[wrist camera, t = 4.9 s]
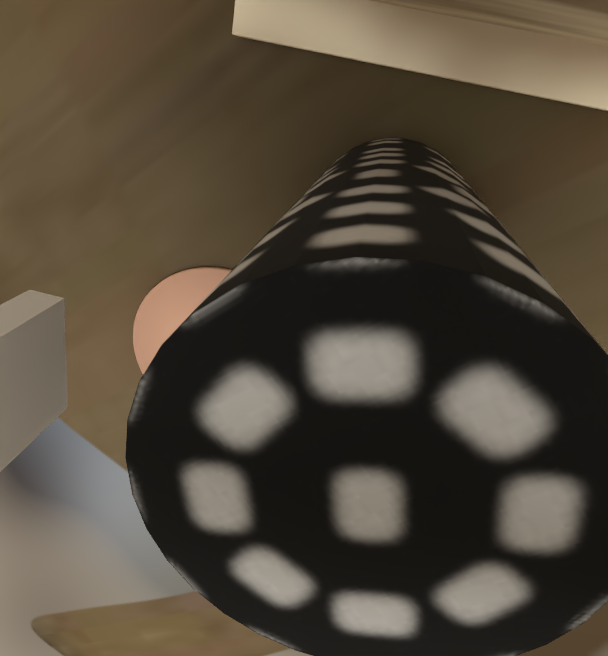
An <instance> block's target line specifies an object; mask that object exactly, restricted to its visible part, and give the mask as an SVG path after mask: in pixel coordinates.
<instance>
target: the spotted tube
mask: <svg viewBox="0 0 608 656" xmlns="http://www.w3.org/2000/svg"><path fill="white" fill-rule="evenodd" d="M126 462H127V468H128V473H129V478H130V484H131V489H132V495H133V497H134V499H135V502H136V504H137V507H138V509H139V511H140V514H141V516H142V519H143V521H144V524H145V526H146V528H147V530H148V531H149V533H150V535H151V536H152V538H153V539H154V541H155V542H156V544H157V545H158V547H159V548H160V550H161V551H162V553H163V554H164V556H165V558H166V559H167V561H168V562H169V563H170V564H171V565H172V566H173V567H174V568H175V569H176V570H177V571H178V573H179V574H180V575H182V576H183V578H184V579H185V580H186V581H187V582H188V583H189V584H190V586H191V587H192V588H193V589H194V590H196V591H197V592H198V593H199V594H201V595H202V596H203V597H204V598H206V599H207V600H208V601H209V602H211V603H212V604H213V605H214V606H216V607H217V608H218V609H219V610H221V611H222V612H223V613H224V614H226V615H228V616H229V617H231V618H233V619H234V620H236V621H238V622H239V623H241V624H243V625H244V626H246V627H248V628H249V629H251V630H253V631H254V632H256V633H258V634H260V635H262V636H264V637H266V638H269V639H271V640H273V641H276V642H278V643H280V644H282V645H285V646H287V647H289V648H292V649H294V650H296V651H300V652H303V653H306V654H309V655H313V656H517V655H520V654H522V653H525V652H527V651H530V650H533V649H536V648H538V647H541V646H544V645H546V644H548V643H550V642H552V641H553V640H555V639H557V638H559V637H560V636H562V635H564V634H565V633H567V632H569V631H571V630H572V629H574V628H576V627H578V626H579V625H581V624H583V623H584V622H585V621H586V620H588V619H589V618H590V617H591V616H592V615H593V614H595V613H596V612H597V611H598V610H599V609H600V608H602V607H603V606H604V605H605V604H606V603H607V602H608V355H607V354H606V352H605V351H604V350H603V349H602V348H601V346H600V345H599V344H598V343H597V341H596V340H595V339H594V338H593V336H592V335H591V334H590V333H589V332H588V330H587V329H586V328H585V327H584V325H583V324H582V323H581V322H580V321H579V319H578V318H577V317H576V316H575V314H574V313H573V312H572V311H571V309H570V308H569V307H568V306H567V305H566V303H565V302H564V301H563V300H562V298H561V297H560V296H559V295H558V294H557V292H556V291H555V290H554V289H553V287H552V286H551V285H550V284H549V282H548V281H547V280H546V279H545V278H544V276H543V275H542V274H541V273H540V271H539V270H538V269H537V268H536V267H535V265H534V264H533V263H532V262H531V260H530V259H529V258H528V257H527V255H526V254H525V253H524V252H523V251H522V249H521V248H520V247H519V246H518V244H517V243H516V242H515V241H514V240H513V238H512V237H511V236H510V235H509V233H508V232H507V231H506V230H505V228H504V227H503V226H502V225H501V224H500V222H499V221H498V220H497V219H496V217H495V216H494V215H493V214H492V213H491V211H490V210H489V209H488V208H487V206H486V205H485V204H484V203H483V201H482V200H481V199H480V198H479V197H478V195H477V194H476V193H475V192H474V190H473V189H472V188H471V187H470V186H469V184H468V183H467V182H466V181H465V179H464V178H463V177H462V176H461V174H460V173H459V172H458V171H457V170H456V168H455V167H454V166H453V165H452V164H451V163H450V161H449V160H448V159H447V158H445V157H444V156H443V155H441V154H440V153H439V152H437V151H436V150H435V149H433V148H430V147H428V146H426V145H424V144H422V143H420V142H416V141H411V140H407V139H395V138H385V139H380V140H375V141H369V142H367V143H364V144H362V145H360V146H357V147H355V148H353V149H351V150H350V151H348V152H347V153H345V154H344V155H342V156H341V157H339V158H338V159H337V160H336V161H335V162H334V163H333V164H332V165H331V166H330V167H329V168H328V169H327V170H326V171H325V172H324V174H323V175H322V176H321V177H320V178H319V179H318V180H317V181H316V182H315V183H314V184H313V185H312V186H311V187H310V188H309V189H308V190H307V192H306V193H305V194H304V195H303V196H302V197H301V198H300V199H299V200H298V201H297V202H296V203H295V204H294V205H293V206H292V207H291V208H290V210H289V211H288V212H287V213H286V214H285V215H284V216H283V217H282V218H281V219H280V220H279V221H278V222H277V223H276V224H275V225H274V226H273V227H272V229H271V230H270V231H269V232H268V233H267V234H266V235H265V236H264V237H263V238H262V239H261V240H260V241H259V242H258V243H257V244H256V245H255V247H254V248H253V249H252V250H251V251H250V252H249V253H248V254H247V255H246V256H245V257H244V258H243V259H242V260H241V261H240V262H239V263H238V265H237V266H236V267H235V268H234V269H233V270H232V271H231V272H230V273H229V274H228V275H227V276H226V277H225V278H224V279H223V280H222V281H221V283H220V284H219V285H218V286H217V287H216V288H215V289H214V290H213V291H212V292H211V293H210V294H209V295H208V296H207V297H206V298H205V299H204V301H203V302H202V303H201V304H200V305H199V306H198V307H197V308H196V309H195V310H194V311H193V312H192V313H191V314H190V315H189V316H188V317H187V319H186V320H185V321H184V322H183V323H182V324H181V325H180V326H179V327H178V328H177V329H176V330H175V331H174V332H173V333H172V334H171V335H170V337H169V338H168V339H167V340H166V341H165V342H164V343H163V344H162V345H161V347H160V348H159V350H158V352H157V353H156V355H155V357H154V358H153V360H152V361H151V363H150V365H149V366H148V368H147V370H146V371H145V373H144V374H143V376H142V378H141V379H140V381H139V384H138V387H137V390H136V394H135V397H134V400H133V403H132V407H131V410H130V413H129V416H128V421H127V441H126Z"/></svg>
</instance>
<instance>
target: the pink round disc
mask: <svg viewBox="0 0 608 656" xmlns="http://www.w3.org/2000/svg"><path fill="white" fill-rule="evenodd" d="M231 271H232V270H231V269H227V268H221V267H196V268H191V269H186V270H183V271H180V272H178V273H175V274H173V275H171V276H169V277H167V278H166V279H164V280H163V281H161V282H160V283H159V284H158V285H157V286H155V287H154V288H153V289H152V290H151V291H150V292H149V293H148V294H147V296H146V297H145V298H144V300H143V302H142V303H141V305H140V307H139V309H138V312H137V314H136V318H135V322H134V329H133V345H134V350H135V355H136V358H137V362H138V365H139V367H140V369H141V371H142V374H144V373H145V371H146V370H147V368H148V366H149V365H150V363H151V361H152V360H153V358H154V357H155V355H156V353H157V352H158V350H159V348H160V347H161V345H162V344H163V343H164V342H165V341H166V340H167V339H168V338H169V337H170V335H171V334H172V333H173V332H174V331H175V330H176V329H177V328H178V327H179V326H180V325H181V324H182V323H183V322H184V321H185V320H186V319H187V317H188V316H189V315H190V314H191V313H192V312H193V311H194V310H195V309H196V308H197V307H198V306H199V305H200V304H201V303H202V302H203V301H204V299H205V298H206V297H207V296H208V295H209V294H210V293H211V292H212V291H213V290H214V289H215V288H216V287H217V286H218V285H219V284H220V283H221V281H222V280H223V279H224V278H225V277H226V276H227V275H228V274H229V273H230V272H231Z"/></svg>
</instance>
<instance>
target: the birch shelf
mask: <svg viewBox="0 0 608 656" xmlns="http://www.w3.org/2000/svg"><path fill="white" fill-rule="evenodd" d="M232 34H233V35H235V36H238V37H243V38H248V39H253V40H258V41H263V42H268V43H273V44H277V45H282V46H287V47H292V48H297V49H302V50H307V51H312V52H317V53H322V54H327V55H332V56H337V57H342V58H347V59H352V60H357V61H361V62H366V63H371V64H376V65H381V66H386V67H391V68H396V69H401V70H406V71H411V72H416V73H421V74H426V75H431V76H436V77H440V78H445V79H450V80H455V81H460V82H465V83H470V84H475V85H480V86H485V87H490V88H495V89H500V90H505V91H510V92H515V93H520V94H524V95H529V96H534V97H539V98H544V99H549V100H554V101H559V102H564V103H569V104H574V105H579V106H584V107H589V108H594V109H599V110H604V111H608V0H235V9H234V19H233V29H232Z"/></svg>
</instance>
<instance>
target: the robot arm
mask: <svg viewBox="0 0 608 656" xmlns="http://www.w3.org/2000/svg"><path fill="white" fill-rule="evenodd" d="M67 408H68V402H67V367H66V332H65V298H62V297H58V296H53V295H49V294H45V293H41V292H37V291H33V290H28V291H26V292H24V293H22V294H20V295H18V296H17V297H15V298H13V299H11V300H9V301H7V302H5V303H3V304H1V305H0V471H2V470H3V469H4V468H5V467H6V466H7V465H8V464H9V463H10V462H11V461H12V460H13V459H14V458H15V457H16V456H17V455H18V454H20V452H22V451H23V450H24V449H25V448H26V447H27V446H28V445H29V444H30V443H31V442H32V441H33V440H34V439H35V438H36V437H37V436H38V435H39V434H41V433H42V432H43V431H44V430H45V429H46V428H47V427H48V426H49V425H50V424H51V423H52V422H53V421H54V420H55V419H56V418H57V417H58V416H59V415H61V414H62V413H63V412H64V411H65V410H66V409H67Z"/></svg>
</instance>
